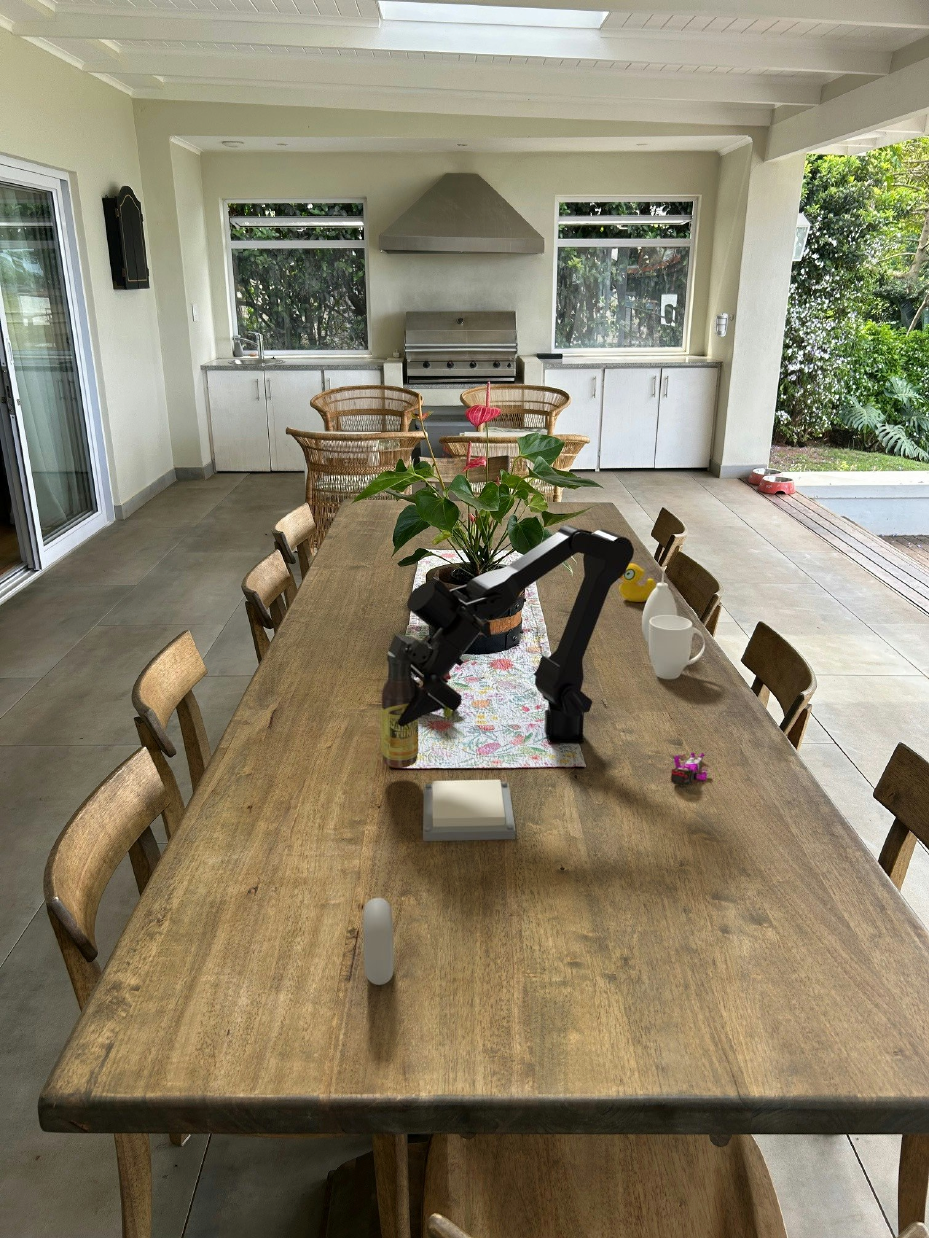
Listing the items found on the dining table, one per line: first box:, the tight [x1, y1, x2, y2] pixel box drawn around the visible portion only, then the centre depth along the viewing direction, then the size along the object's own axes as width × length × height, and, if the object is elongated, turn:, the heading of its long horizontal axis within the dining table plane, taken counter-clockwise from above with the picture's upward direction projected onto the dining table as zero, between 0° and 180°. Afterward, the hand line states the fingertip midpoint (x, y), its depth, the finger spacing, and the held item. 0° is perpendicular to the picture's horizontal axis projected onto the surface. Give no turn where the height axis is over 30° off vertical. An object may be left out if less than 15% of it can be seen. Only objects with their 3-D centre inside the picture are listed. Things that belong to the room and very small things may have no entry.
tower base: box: [422, 779, 516, 842], centre depth 145 cm, size 14×14×3 cm
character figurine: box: [670, 752, 709, 787], centre depth 156 cm, size 6×5×12 cm
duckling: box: [618, 563, 657, 603], centre depth 239 cm, size 11×5×10 cm, turn 70°
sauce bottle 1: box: [380, 650, 419, 769], centre depth 152 cm, size 6×6×20 cm
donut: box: [362, 897, 395, 986], centre depth 111 cm, size 10×4×10 cm, turn 4°
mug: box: [648, 615, 706, 680], centre depth 195 cm, size 12×9×12 cm
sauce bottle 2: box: [641, 572, 678, 644], centre depth 208 cm, size 8×8×18 cm
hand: (391, 716), depth 152 cm, fingers closed on sauce bottle 1, 6 cm apart
